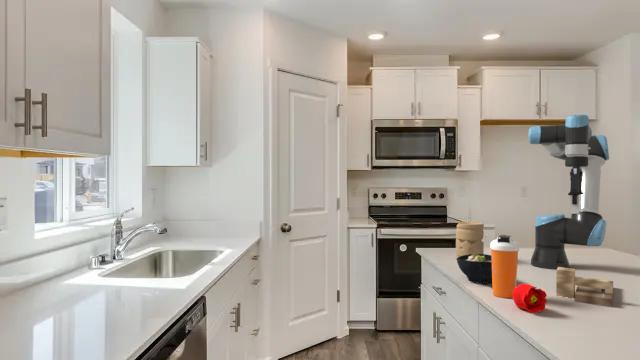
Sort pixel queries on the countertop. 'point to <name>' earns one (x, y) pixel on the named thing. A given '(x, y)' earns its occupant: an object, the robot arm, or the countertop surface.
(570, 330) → the countertop surface
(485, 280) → the bowl
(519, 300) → the flower
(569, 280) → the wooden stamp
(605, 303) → the plank
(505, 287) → the shaker bottle
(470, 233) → the container
